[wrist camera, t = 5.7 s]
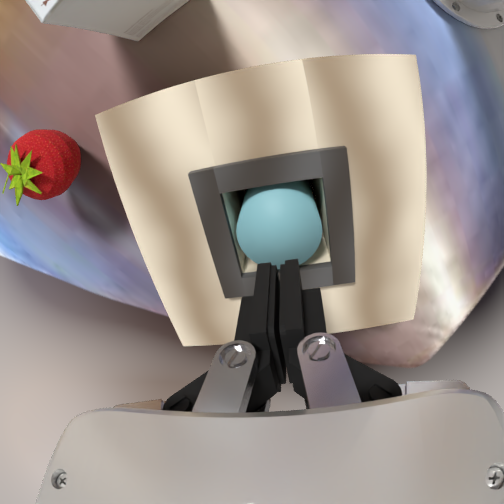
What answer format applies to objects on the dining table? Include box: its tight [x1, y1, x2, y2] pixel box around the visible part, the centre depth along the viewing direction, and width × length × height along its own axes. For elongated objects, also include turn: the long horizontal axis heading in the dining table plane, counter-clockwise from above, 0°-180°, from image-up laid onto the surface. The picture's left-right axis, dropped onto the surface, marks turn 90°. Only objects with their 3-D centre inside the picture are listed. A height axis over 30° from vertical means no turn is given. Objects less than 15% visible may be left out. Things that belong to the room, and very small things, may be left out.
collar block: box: [95, 54, 426, 346], centre depth 22 cm, size 19×19×9 cm
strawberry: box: [0, 130, 81, 206], centre depth 20 cm, size 6×8×10 cm
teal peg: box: [236, 180, 322, 269], centre depth 21 cm, size 5×5×7 cm
